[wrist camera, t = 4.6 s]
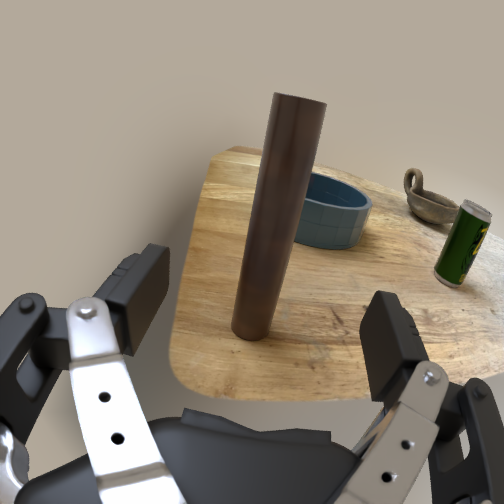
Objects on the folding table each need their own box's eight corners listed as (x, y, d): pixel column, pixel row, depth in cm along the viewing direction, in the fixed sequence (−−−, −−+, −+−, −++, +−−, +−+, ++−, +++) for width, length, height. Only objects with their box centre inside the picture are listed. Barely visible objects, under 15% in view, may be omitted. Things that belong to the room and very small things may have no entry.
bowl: (432, 234, 54) (449, 190, 49) (381, 199, 68) (393, 161, 63) (461, 234, 59) (475, 197, 55) (414, 203, 73) (425, 169, 68)
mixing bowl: (243, 227, 41) (250, 185, 38) (271, 193, 55) (277, 162, 52) (362, 262, 38) (377, 221, 35) (358, 218, 52) (367, 188, 50)
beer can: (429, 276, 38) (462, 201, 32) (434, 264, 42) (463, 196, 36) (459, 293, 35) (495, 219, 30) (461, 279, 39) (492, 212, 33)
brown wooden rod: (225, 333, 24) (268, 90, 15) (238, 309, 27) (279, 93, 18) (263, 345, 23) (325, 103, 14) (272, 321, 26) (328, 104, 17)
